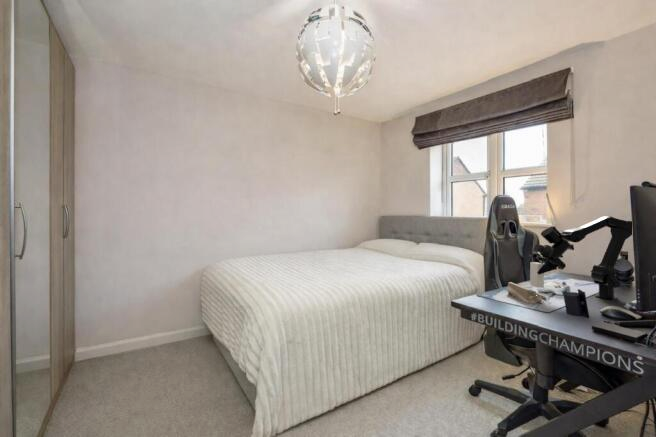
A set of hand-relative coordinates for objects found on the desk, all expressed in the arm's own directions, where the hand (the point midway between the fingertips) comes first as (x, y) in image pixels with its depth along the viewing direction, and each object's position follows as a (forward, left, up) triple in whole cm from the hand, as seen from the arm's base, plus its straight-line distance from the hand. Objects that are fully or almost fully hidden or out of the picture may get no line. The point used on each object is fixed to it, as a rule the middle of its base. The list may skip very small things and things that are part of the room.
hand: (534, 272), depth 147 cm
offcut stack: (+2, -2, -13) cm, 13 cm away
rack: (+2, -1, -13) cm, 13 cm away
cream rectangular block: (-1, +1, -7) cm, 7 cm away
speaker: (+9, +22, -13) cm, 27 cm away
